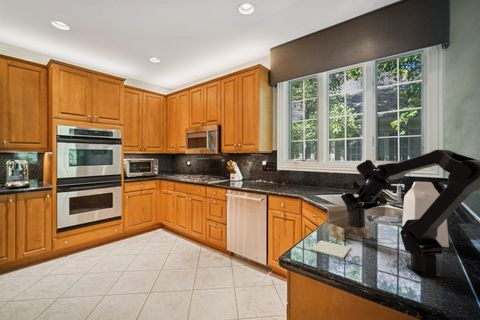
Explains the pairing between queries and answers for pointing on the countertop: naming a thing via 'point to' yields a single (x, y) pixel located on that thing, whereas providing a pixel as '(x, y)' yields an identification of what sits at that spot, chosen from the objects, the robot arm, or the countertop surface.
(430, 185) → the milk
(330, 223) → the open box
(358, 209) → the supplement bottle
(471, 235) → the countertop surface
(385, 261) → the countertop surface
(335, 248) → the mat
